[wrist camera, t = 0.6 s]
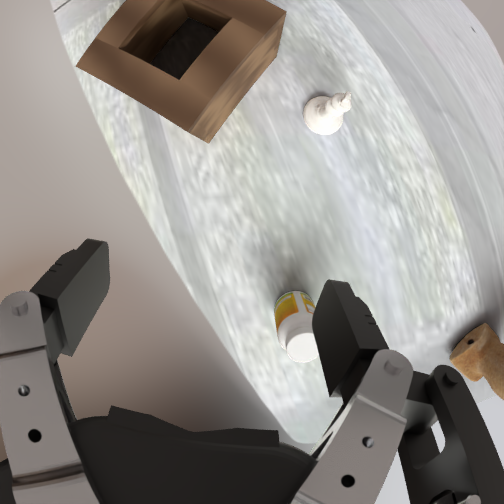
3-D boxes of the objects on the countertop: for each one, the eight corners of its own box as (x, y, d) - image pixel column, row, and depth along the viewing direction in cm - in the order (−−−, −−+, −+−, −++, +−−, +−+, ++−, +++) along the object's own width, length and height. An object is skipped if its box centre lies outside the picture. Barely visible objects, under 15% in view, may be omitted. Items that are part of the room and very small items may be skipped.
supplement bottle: (272, 325, 40) (277, 368, 31) (275, 289, 39) (282, 326, 29) (310, 326, 40) (325, 367, 31) (316, 290, 39) (333, 326, 30)
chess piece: (348, 108, 33) (379, 90, 23) (332, 141, 34) (361, 133, 24) (313, 89, 32) (333, 64, 22) (296, 123, 33) (312, 106, 24)
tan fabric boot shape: (506, 339, 42) (548, 375, 28) (470, 381, 45) (505, 425, 31) (485, 303, 40) (537, 342, 26) (443, 354, 42) (486, 405, 28)
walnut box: (187, 9, 29) (165, -39, 17) (276, 56, 31) (286, 11, 19) (123, 90, 32) (75, 66, 20) (208, 143, 34) (187, 131, 22)
